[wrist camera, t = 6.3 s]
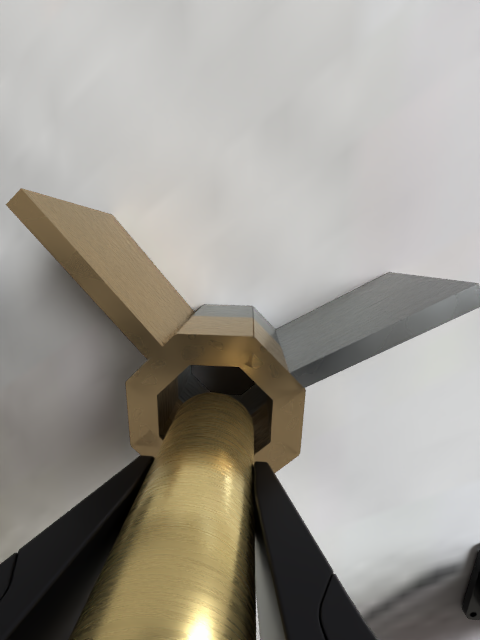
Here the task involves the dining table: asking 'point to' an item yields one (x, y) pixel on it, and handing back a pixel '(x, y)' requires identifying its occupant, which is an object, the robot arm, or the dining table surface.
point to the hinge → (229, 328)
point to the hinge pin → (185, 537)
